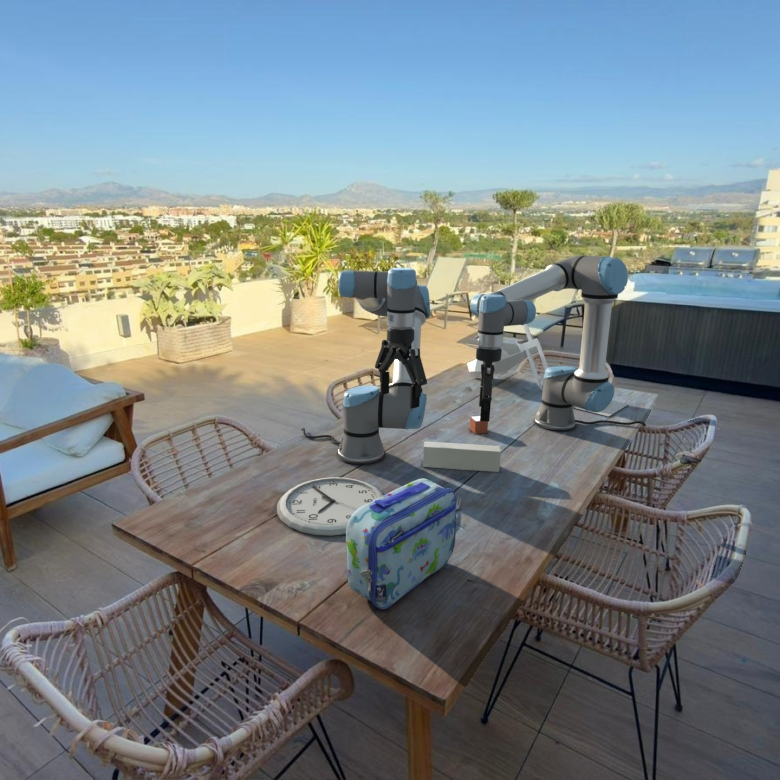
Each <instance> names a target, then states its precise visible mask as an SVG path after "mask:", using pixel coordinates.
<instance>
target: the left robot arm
mask: <svg viewBox="0 0 780 780" xmlns="http://www.w3.org/2000/svg"><path fill="white" fill-rule="evenodd" d="M417 279H418V278H417V272H416V270H415V269H414V268H411V267H392V268H389V270H388V271H386V270H385V271H382V270H381V271H380V270H379V271H377V270H376V271H371V270H353V269H350V270H341V271H340V273H339V274H338V280H337V281H338V282H337V283H338V285H337V288H338V294H339V296H340V297H341V298H349V299H351V298H354V299H356V300H357V301H358V305H359V306H360V307H361V309H363V310H364V311H366V312H368V313H370V314H372V315H376V316H379V317H383V318H385V317H386V326H387V328H386V339H382V340H381V347H380V350H379V353H378V356H377V359H376V361H375V364H374V368H375V369H377V370H378V372H379V383H380V384H379V386H377V385H372V384H369V385H368V384H365V385H358V386H354V387H352V388H348V389H347V390H346V391H345V392H344V394H343V400H342V402H343V403H342V411H343V412H342V413H343V416H342V417H343V418H342V419H343V421H342V422H343V434H342V437H341V440H340V441H336V440H335V437H334V436H332V435H330V434H321V435H308V434H307V432H306V429H305V427H302V428H301V431H302V434H303V435H304V437H305V438H308V439H320V438H330V439H331V441H332V443H333V444H335V445H338V449H337V451H338V453H337V454H338V458H339V459H340V460H341V461H343V462H344V463H347V464H352V465H371V464H374V463H377V462H380V461H381V460H382V459H384V457H385V448H384V444H383V442H382V439H381V436H380V429H397V430H418V429H420V428H421V427H422V425H423V423H424V417H425V413H426V405H427V397H428V396H427V393H424V391H423V388H422V387H423V386H424V385H427V384H428V380H427V376H426V372H425V370H424V369H425V368H424V365H423V361H422V358H421V337H422V326H423V325H425V323H426V321H427V320H428V319H430V318H431V304H430V301H431V300H430V291H429V288H428V287H427V286H426V285H424V284H418V280H417ZM392 365H393V370H392V383H390V371H389V370H390V368H391V366H392Z"/></svg>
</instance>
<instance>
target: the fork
mask: <svg viewBox="0 0 780 780" xmlns="http://www.w3.org/2000/svg"><path fill="white" fill-rule="evenodd" d="M461 501H462V497H460V499H459V495H458V496H457V499H456V511H457V510H459V509H460V506H461Z"/></svg>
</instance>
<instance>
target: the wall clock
mask: <svg viewBox="0 0 780 780" xmlns="http://www.w3.org/2000/svg"><path fill="white" fill-rule="evenodd" d="M384 495H385V494H384V493H383V492H382V491H381V490H380V489H379V488H377V487H376V486H375V485H372V484H371V483H369V482H366V481H363V480H359V479H355V478H349V477H338V476H337V477H335V476H333V477H332V476H331V477H322V478H317V479H312V480H307V481H305V482H302V483H299V484H297V485H295V486H294V487H292V488H290V489H288V490H287V491H286V492H285V493H284V494H283V495H281V497H280V498H279V500H278V502H277V503H276V515H277V516H278V518H279V520H280V521H281V522H282V523H283V524H285V525H286V526H287V527H288V528H290V529H293V530H295V531H297V532H300V533H304V534H308V535H312V536H313V535H314V536H327V537H328V536H329V537H331V536H342V535H346V528H347V524H348V521H349V519H350V517H351V515H352V514H353V513H354V512H355V511H356V510H357V509H358V508H360V507H362V506H364V505H366V504H368V503H370V502H372V501H374V500H376V499H378V498H380V497H382V496H384Z"/></svg>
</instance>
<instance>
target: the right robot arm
mask: <svg viewBox="0 0 780 780" xmlns="http://www.w3.org/2000/svg"><path fill="white" fill-rule="evenodd" d="M628 280H629V272H628V268H627V265H626V264H625V263H624V261H623V260H622V259H620V258H618V257H612V256H607V255H605V256H601V255H584V254H582V255H581V254H580V255H574V256H571V257H567V258H564V259H561V260H559V261H556V262H553V263H552V264H549V265H548V266H546V268H545V269H544V270H543V271H540V272H538V273H536V274H533V275H531V276H529V277H527V278H523V279H522V280H519V281H517V282H515V283H513V284H510V285H507V286H506V287H503V288H500V289H499V290H496V291H494V292H491V293H489V294H486V293H482V294H481V293H478V294H475V295H474V296H473V297H472V298H471V300H470V304H469V310H470V312H471V314H472V315H473V316H474V317H477V318H478V323H477V324H478V326H477V334H476V335H475V337H474V338H475V339H477V341H476V345H477V347H476V351H475V360H476V359H477V360H479V361H483V364H481V377H480V387H479V389H480V390H479V402H478V407H479V408H480V415H479V416H480V421H487V422H488V423H489V422H490V417H491V407H492V406H491V405H492V400H493V397H492V396H493V394H492V393H493V381H494V375H493V373H494V369H495V367H494V365H492V363H493V362H498V361H500V360H501V353H502V349H501V348H500V347H502V344H503V340H504V332H505V331H504V330H505V327H511V326H512V327H513V326H523V325H524V324H527V325H528V324H531V323H533V321H534V320H535V318H536V315H537V308H536V305H535V303H534V302H533V300H535V299H537V298H540V297H542V296H544V295H547V294H548V293H551V292H560V291H563V290H569V289H570V290H571V289H572V290H580V291H581V295H580V297H581V299H582V300H583V301H584V312H583V324H582V332H581V333H582V335H581V342H580V343H581V344H580V354H579V355H580V356H579V365H578V368H577V367H574V366H569V365H568V366H567V365H557V366H550V367H549V366H548V368H547V369H546V370H545V369H544V375H543V378H542V379H543V381H542V390H541V391H542V392H541V402H540V405H539V407H538V410H537V411H536V413H535V416H534V424H535V425H536V426H537V427H539V428H542V429H544V430H549V431H556V432H567V431H572V430H574V429H575V428H576V423H577V424H582V425H596V424H601V423H603V424H615V425H621V426H631V425H637V424H640V425H642V426H643V427H647V425H646V423H644V422H643V421H641V420H635V421H630V422H624V421H622V422H621V421H615V420H607V419H602V420H593V421H583V420H578V419H576V418H575V417H576V416H575V413H574V407H579V408H582V409H585V410H586V411H585V412H588V411H592V412H601V411H603V410H604V409H605V408H607V406H608V405H609V404H610V402H611V401H613V398H614V396H615V387H614V385H613V383H611V381H609V378H610V375H609V373H608V372H607V371H606V362H607V353H608V343H609V335H610V326H611V317H612V309H613V303H614V302H615V301H617V300H618V298H619V294H622V293H623V292H624V291H625V289H626V288H625V287H627V284H628V282H629V281H628ZM573 406H574V407H573ZM592 412H591V413H592Z"/></svg>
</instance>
